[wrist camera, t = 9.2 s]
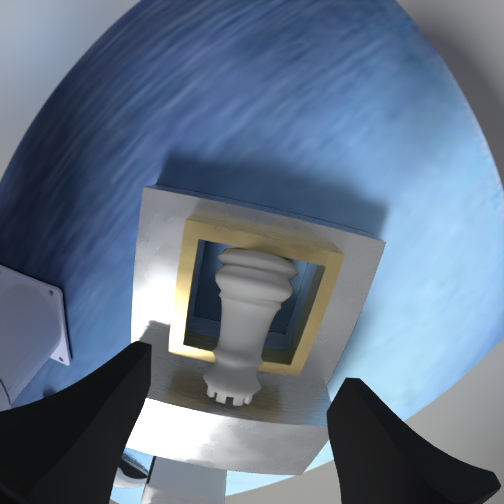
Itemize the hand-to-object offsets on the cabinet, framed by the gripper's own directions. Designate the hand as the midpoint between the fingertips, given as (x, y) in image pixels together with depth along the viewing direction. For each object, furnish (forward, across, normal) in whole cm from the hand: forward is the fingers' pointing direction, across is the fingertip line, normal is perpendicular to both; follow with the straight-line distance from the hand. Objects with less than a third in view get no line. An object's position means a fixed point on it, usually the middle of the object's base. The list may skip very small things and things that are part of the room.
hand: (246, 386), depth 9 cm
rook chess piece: (+7, 0, -3) cm, 8 cm away
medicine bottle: (+10, +2, +22) cm, 24 cm away
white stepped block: (+9, 0, +5) cm, 11 cm away
